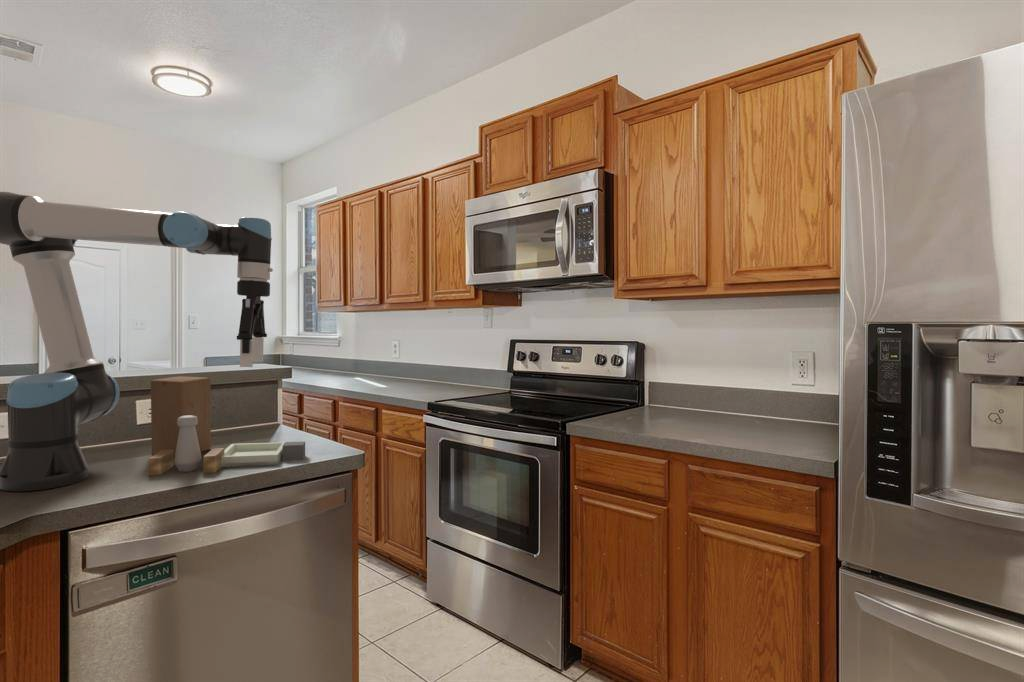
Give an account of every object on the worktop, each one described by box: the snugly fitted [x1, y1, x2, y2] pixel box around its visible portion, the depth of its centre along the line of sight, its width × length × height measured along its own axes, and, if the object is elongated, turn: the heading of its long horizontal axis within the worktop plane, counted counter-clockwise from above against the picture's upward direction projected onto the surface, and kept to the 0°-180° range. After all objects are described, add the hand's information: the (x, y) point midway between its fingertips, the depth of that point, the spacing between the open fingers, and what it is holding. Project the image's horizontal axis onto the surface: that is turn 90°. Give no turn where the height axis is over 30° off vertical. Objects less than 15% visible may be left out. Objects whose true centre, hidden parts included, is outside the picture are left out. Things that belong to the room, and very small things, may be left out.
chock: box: [282, 441, 306, 461], centre depth 145 cm, size 5×4×4 cm
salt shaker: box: [173, 415, 203, 473], centre depth 133 cm, size 6×6×13 cm
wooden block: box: [150, 375, 212, 458], centre depth 149 cm, size 10×10×20 cm
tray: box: [221, 441, 285, 468], centre depth 144 cm, size 14×14×2 cm
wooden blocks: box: [148, 447, 225, 476], centre depth 133 cm, size 14×8×4 cm, turn 103°
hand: (252, 364), depth 140 cm, fingers open, 13 cm apart
